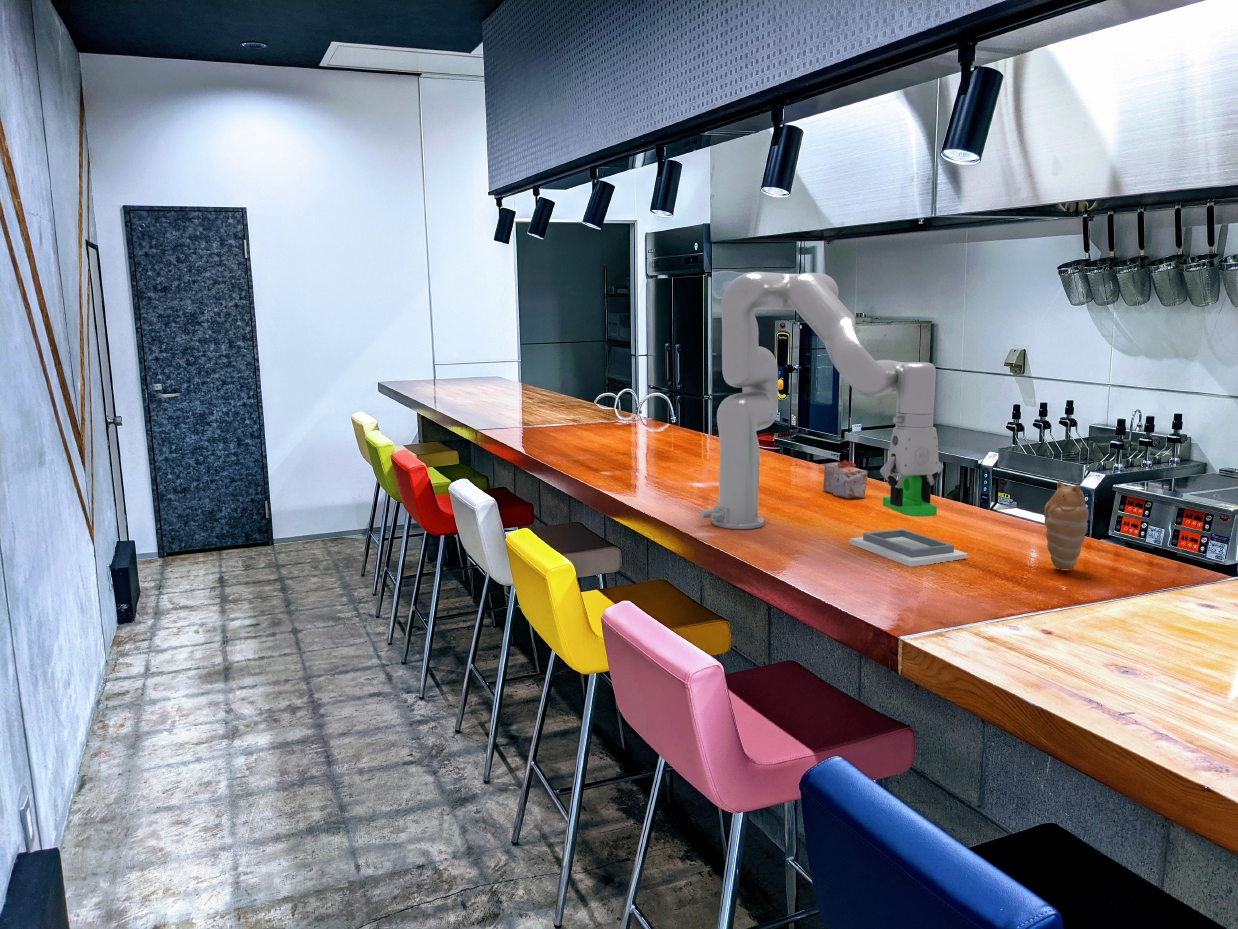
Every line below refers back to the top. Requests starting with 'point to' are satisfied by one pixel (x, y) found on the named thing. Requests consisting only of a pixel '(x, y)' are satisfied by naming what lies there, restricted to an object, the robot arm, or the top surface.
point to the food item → (845, 480)
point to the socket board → (907, 547)
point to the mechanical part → (912, 499)
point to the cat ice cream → (1066, 525)
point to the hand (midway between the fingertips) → (910, 503)
